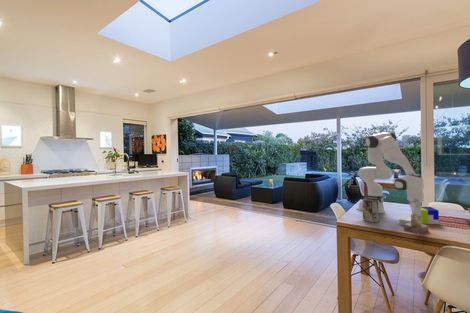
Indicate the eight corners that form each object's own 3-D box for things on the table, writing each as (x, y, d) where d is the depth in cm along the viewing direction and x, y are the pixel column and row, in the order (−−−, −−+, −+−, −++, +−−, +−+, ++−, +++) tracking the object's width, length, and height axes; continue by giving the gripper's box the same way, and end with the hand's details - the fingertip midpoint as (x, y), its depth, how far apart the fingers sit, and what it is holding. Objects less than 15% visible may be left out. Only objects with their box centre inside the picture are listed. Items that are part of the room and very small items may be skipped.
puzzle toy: (438, 224, 168) (438, 210, 168) (422, 223, 170) (422, 210, 170) (430, 219, 178) (429, 206, 178) (415, 219, 180) (415, 206, 180)
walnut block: (403, 230, 160) (403, 224, 160) (411, 227, 165) (411, 221, 165) (420, 234, 151) (420, 228, 151) (428, 231, 156) (428, 225, 156)
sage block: (399, 224, 171) (399, 219, 171) (404, 221, 177) (404, 216, 177) (415, 228, 163) (415, 222, 163) (420, 224, 169) (420, 219, 169)
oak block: (410, 225, 158) (410, 214, 158) (411, 223, 162) (411, 213, 162) (420, 226, 155) (420, 216, 155) (420, 224, 159) (420, 214, 159)
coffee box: (379, 222, 177) (378, 201, 177) (372, 223, 175) (372, 201, 175) (368, 218, 186) (368, 198, 186) (362, 219, 184) (362, 199, 184)
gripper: (424, 201, 147) (424, 223, 148) (418, 195, 165) (418, 214, 166) (411, 200, 151) (411, 222, 151) (407, 194, 168) (407, 213, 169)
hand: (415, 218), depth 159 cm, fingers open, 7 cm apart
